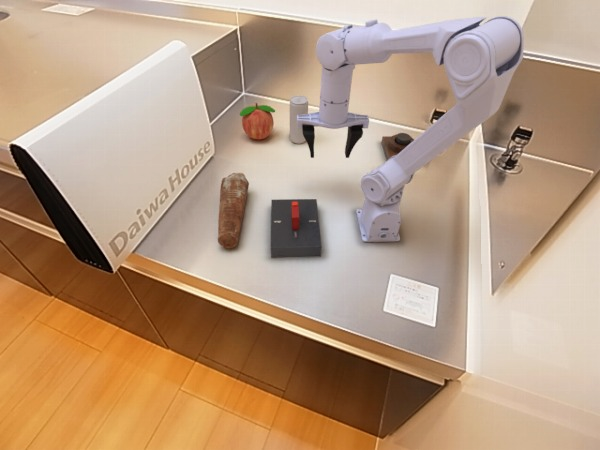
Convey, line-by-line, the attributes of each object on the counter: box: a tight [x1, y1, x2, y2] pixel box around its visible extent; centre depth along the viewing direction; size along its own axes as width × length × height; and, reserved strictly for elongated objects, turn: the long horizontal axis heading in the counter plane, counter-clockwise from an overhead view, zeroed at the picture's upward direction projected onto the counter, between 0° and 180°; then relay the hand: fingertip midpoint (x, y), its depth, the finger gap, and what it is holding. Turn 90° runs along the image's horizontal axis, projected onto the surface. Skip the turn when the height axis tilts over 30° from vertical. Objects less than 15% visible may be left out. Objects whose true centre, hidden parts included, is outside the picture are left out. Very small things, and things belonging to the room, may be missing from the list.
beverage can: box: [289, 94, 309, 144], centre depth 99 cm, size 5×5×12 cm
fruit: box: [239, 102, 276, 140], centre depth 101 cm, size 9×10×10 cm
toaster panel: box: [270, 198, 323, 258], centre depth 78 cm, size 14×10×3 cm
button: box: [395, 132, 412, 146], centre depth 96 cm, size 4×4×2 cm
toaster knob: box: [291, 202, 299, 229], centre depth 75 cm, size 4×1×4 cm, turn 2°
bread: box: [217, 172, 250, 249], centre depth 79 cm, size 6×19×6 cm, turn 0°
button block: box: [380, 133, 415, 161], centre depth 98 cm, size 10×8×4 cm
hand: (329, 155), depth 81 cm, fingers open, 7 cm apart
